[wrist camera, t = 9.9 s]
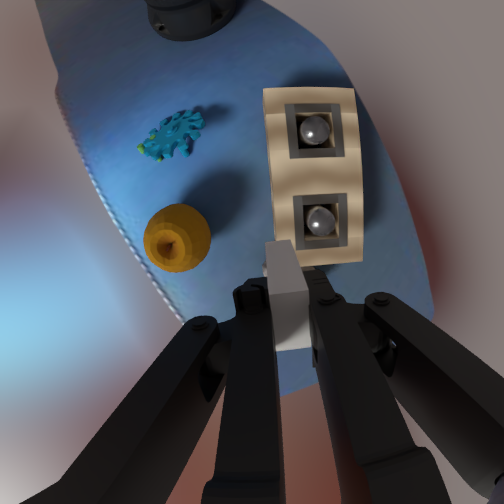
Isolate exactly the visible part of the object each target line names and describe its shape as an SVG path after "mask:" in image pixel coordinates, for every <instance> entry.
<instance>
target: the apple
mask: <svg viewBox="0 0 504 504" xmlns="http://www.w3.org/2000/svg"><path fill="white" fill-rule="evenodd" d="M143 242H144V249H145V252H146V255H147V256H148V258H149V259H150V261H151V262H152V263H154V264H155V265H156V266H158V267H159V268H161V269H162V270H165V271H168V272H175V273H176V272H184V271H187V270H190V269H193V268H194V267H196V266H197V265H198V264H199V263H200V262H201V261H202V260H203V259H204V258H205V257H206V255H207V253H208V251H209V249H210V244H211V233H210V229H209V226H208V224H207V221H206V219H205V218H204V217H203V216H202V215H201V214H200V213H199V212H198V211H197V210H195V209H194V208H193V207H191V206H188V205H186V204H179V203H178V204H172V205H169V206H167V207H165V208H163V209H161V210H160V211H158V212H157V213H156V214H155V215H154V216H153V217H152V218H151V219H150V220H149V222H148V225H147V227H146V229H145V232H144V238H143Z"/></svg>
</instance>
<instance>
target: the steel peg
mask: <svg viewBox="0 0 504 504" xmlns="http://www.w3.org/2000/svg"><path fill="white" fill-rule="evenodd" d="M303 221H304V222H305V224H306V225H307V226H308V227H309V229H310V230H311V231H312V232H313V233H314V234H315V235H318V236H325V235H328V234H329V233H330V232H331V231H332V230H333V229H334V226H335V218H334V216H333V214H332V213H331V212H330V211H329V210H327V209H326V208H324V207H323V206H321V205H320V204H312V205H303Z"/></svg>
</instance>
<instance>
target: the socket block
mask: <svg viewBox="0 0 504 504" xmlns="http://www.w3.org/2000/svg"><path fill="white" fill-rule="evenodd" d="M263 111H264V120H265V130H266V140H267V151H268V162H269V173H270V184H271V196H272V208H273V221H274V234H275V241H280V240H288V239H290V240H291V242H292V245H293V248H294V251H295V253H296V256H297V259H298V261H299V264H300V267H303V266H314V265H326V264H337V263H347V262H358V261H362V259H363V179H362V161H361V147H360V135H359V125H358V117H357V108H356V101H355V94H354V89H353V88H335V87H284V88H265V89H263ZM313 116H316V117H320V118H322V119H324V120H325V121H326V122H327V124H328V126H329V129H330V133H329V136H328V138H327V139H326V140H325V141H324V142H322V143H321V148H314V149H298V138H297V128H296V122H304V121H305V120H306V119H307V118H309V117H313ZM312 204H325V208H326V209H327V210H329V211H330V212H331V213H332V214H333V216H334V218H335V226H334V229H333V230H332V231H331V232H330V233H329V234H328V235H325V236H318V235H315V234H314V233H313V232H312V231H311V230H310V229H309V227H304V221H303V205H312Z"/></svg>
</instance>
